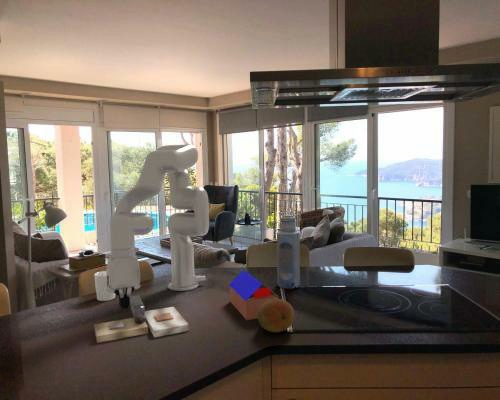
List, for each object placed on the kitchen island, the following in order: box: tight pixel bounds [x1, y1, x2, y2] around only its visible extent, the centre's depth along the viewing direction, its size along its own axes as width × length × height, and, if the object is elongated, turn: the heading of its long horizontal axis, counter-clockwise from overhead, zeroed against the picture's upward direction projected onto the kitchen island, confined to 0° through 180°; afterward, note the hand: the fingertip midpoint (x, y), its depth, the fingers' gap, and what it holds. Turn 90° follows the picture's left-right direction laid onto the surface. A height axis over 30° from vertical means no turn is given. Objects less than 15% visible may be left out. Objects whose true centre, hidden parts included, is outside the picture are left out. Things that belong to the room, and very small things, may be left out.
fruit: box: [257, 297, 295, 333], centre depth 119 cm, size 12×12×10 cm
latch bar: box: [129, 294, 146, 323], centre depth 127 cm, size 14×3×5 cm, turn 23°
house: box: [228, 269, 280, 321], centre depth 139 cm, size 12×20×12 cm, turn 19°
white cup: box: [94, 270, 116, 302], centre depth 153 cm, size 8×8×10 cm
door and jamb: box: [93, 306, 190, 344], centre depth 123 cm, size 26×18×2 cm
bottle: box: [276, 214, 301, 289], centre depth 165 cm, size 10×10×30 cm
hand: (124, 308), depth 129 cm, fingers closed
